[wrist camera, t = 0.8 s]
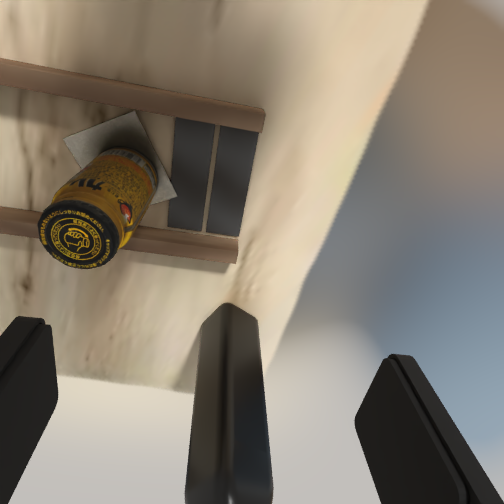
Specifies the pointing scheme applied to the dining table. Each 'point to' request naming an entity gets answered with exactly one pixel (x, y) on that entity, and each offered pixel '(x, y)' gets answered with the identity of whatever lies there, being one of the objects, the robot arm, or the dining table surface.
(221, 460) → the wine bottle
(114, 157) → the condiment
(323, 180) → the dining table surface
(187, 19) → the dining table surface
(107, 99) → the trap lane
